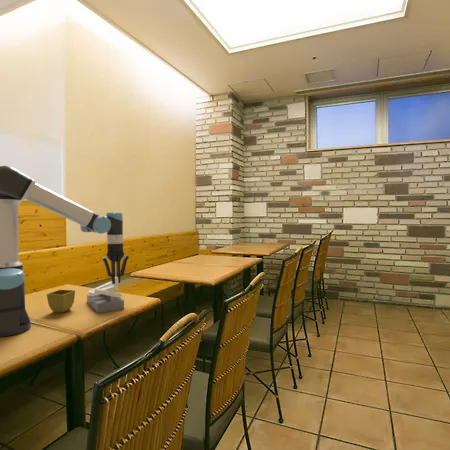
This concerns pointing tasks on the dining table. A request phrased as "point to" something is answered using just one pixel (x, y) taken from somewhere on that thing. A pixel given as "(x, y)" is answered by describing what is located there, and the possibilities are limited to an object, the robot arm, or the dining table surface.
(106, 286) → the bar
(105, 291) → the bar
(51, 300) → the flower pot
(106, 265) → the robot arm
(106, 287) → the bar
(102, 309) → the switch panel
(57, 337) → the dining table surface
